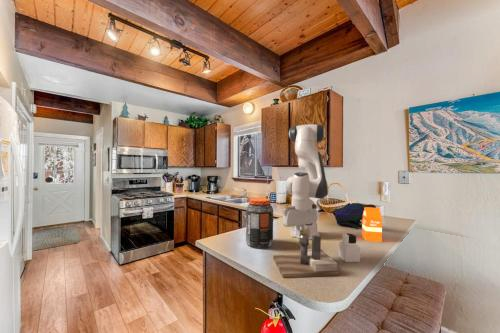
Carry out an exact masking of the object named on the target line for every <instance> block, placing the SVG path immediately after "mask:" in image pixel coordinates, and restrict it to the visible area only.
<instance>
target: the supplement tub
mask: <svg viewBox="0 0 500 333" xmlns="http://www.w3.org/2000/svg"><path fill="white" fill-rule="evenodd" d="M271 201H272V200H271V199H270V198H267V197H253V198H252V197H251V198H249V199H248V205H247V206H246V208H245V243H246V245H247V246H249V247H251V248H255V249H265V248H269V247H271V246H272V245H273V243H274V208H273V206H272V205H271V204H272V203H271Z"/></svg>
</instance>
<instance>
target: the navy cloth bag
mask: <svg viewBox="0 0 500 333" xmlns="http://www.w3.org/2000/svg"><path fill="white" fill-rule="evenodd" d="M365 207H370V208H377V206H376V205H374V204H373V203H372V204H371V203H370V204H363V203H359V202H352V203H350V202H348V203H347V204H345V205H344V206H342V207H339V208H336V209H334V210H332V215H333V216H334V218H335V222H336V224H337V225H346V226H350V227H352V228H355V229H356V230H359V228H362V224H363V212H364V208H365Z"/></svg>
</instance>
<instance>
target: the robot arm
mask: <svg viewBox="0 0 500 333" xmlns="http://www.w3.org/2000/svg"><path fill="white" fill-rule="evenodd" d="M325 136H326V129H325V126H324V125H323V124H319V123H317V124H314V123H313V124H312V123H311V124H309V123H308V124H307V123H306V124H301V125H293V126H291V127H290V128H289V131H288V137H289V140H290V141H291V142H294V152H295V154H296V156H297V157H298V160H297V162H298V164H297V165H298V167H299V169H301V171H299V172H295V173H293V175H292V176H288V178H287V180H286V183H285V184H286V185H285V186H286V188H287V190H288V191H289V192H290V193H291V195H292V196H291V206H285V208H284V209H283V215H282V222H281V223H282V225H283V226H284V227H285V228H289V227H290V228H289V229H288V230H289V233H290V236H291V237H292V238H293V237H294V238H297V239H300V234H301V233H302V231H303V229H304V228H310V238H309V241H311V240H312V235H319V236H320V237H321V235H320V233H319V232H318V231H319V230H318V223H317V222H318V210H317V209H318V205H317V204H316V203H315V202H314V200H312V199H320V200H322V199H324V198H326V197H327V196H328V194H329V190H330V189H329V184H328V182H327V177H326V173H325V168H324V162H323V158H322V153H321V152H320V151H318V150H317V149H316V144H317V145H318V144H319V143H320V142H322V141H323V140H324V138H325ZM302 171H303V172H302Z"/></svg>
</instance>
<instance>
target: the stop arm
mask: <svg viewBox="0 0 500 333" xmlns="http://www.w3.org/2000/svg"><path fill="white" fill-rule="evenodd" d="M309 238H310V228H304V229H303V231H302V233H301V234H300V238H299V245H300V246H301V245H303V246H309V245H310V242H309V241H310V240H309Z"/></svg>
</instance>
